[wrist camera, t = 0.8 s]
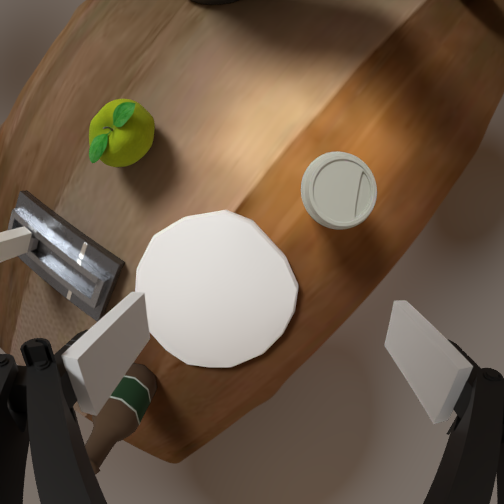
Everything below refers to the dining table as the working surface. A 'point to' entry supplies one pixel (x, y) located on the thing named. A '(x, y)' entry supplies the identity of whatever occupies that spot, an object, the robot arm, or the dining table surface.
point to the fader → (16, 243)
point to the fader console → (67, 257)
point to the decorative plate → (216, 289)
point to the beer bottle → (121, 413)
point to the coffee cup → (338, 190)
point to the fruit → (120, 133)
